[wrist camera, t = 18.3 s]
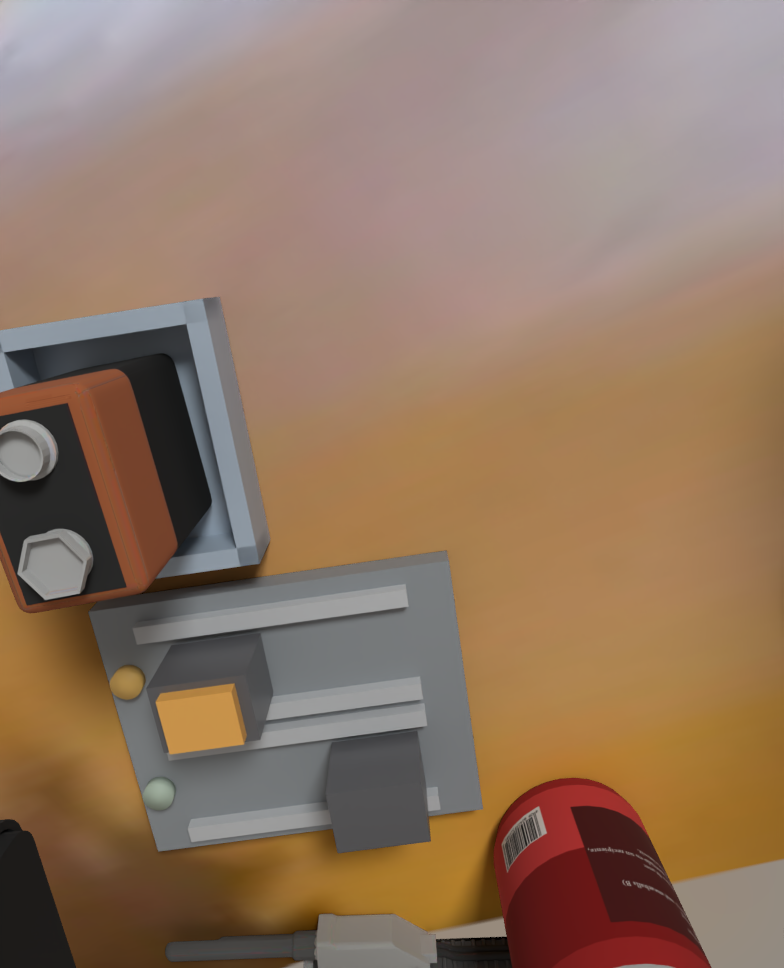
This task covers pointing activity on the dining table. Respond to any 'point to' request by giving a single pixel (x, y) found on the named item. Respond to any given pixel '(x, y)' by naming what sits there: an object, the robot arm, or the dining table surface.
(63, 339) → the blue-grey tray
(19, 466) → the battery
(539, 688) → the dining table surface
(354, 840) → the toggle plain
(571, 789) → the canned food
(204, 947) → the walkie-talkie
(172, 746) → the block
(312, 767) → the breaker panel
